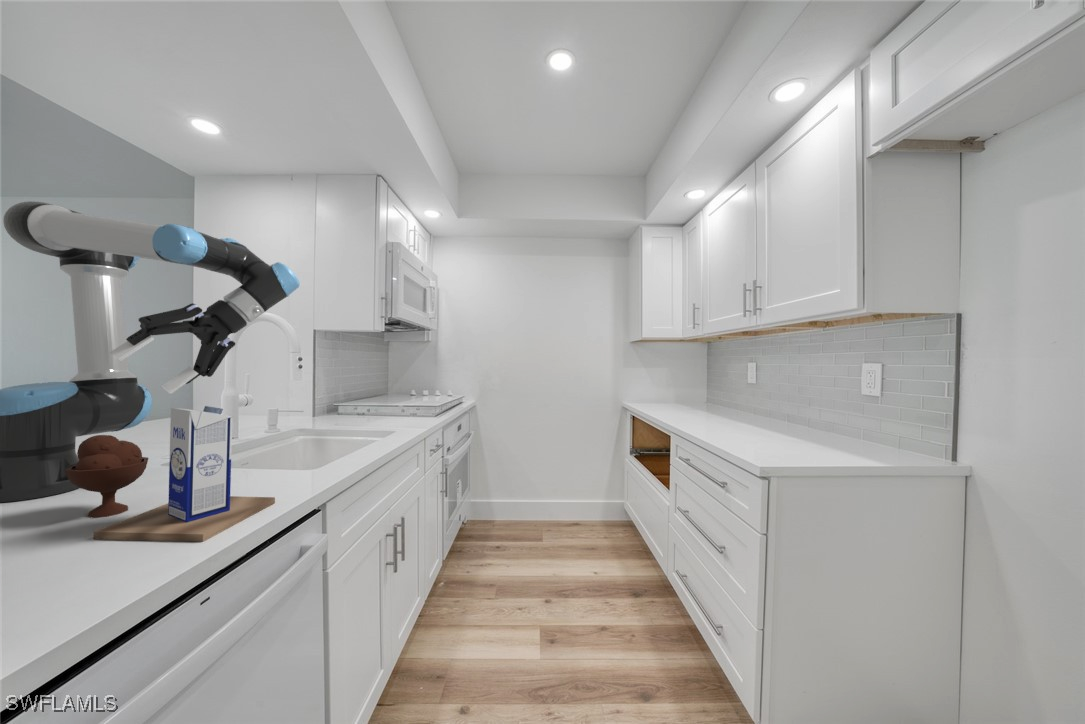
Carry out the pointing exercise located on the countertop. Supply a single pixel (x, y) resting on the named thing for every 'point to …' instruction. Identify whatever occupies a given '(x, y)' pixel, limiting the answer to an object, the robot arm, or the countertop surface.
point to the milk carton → (199, 463)
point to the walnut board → (182, 523)
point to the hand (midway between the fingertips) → (142, 374)
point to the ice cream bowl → (106, 470)
